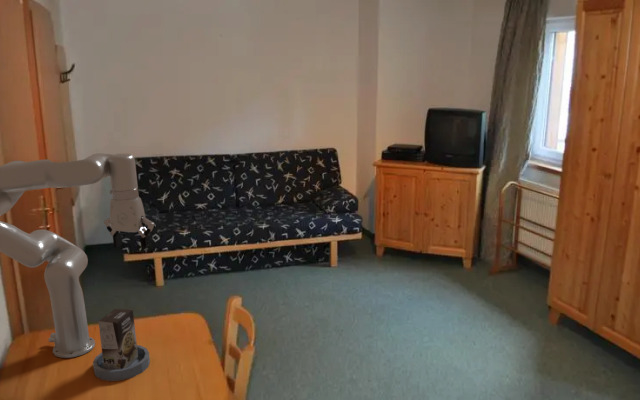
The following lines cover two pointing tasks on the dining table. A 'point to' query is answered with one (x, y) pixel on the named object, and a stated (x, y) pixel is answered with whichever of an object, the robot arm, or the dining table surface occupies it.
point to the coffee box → (118, 339)
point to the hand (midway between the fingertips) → (131, 247)
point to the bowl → (125, 373)
